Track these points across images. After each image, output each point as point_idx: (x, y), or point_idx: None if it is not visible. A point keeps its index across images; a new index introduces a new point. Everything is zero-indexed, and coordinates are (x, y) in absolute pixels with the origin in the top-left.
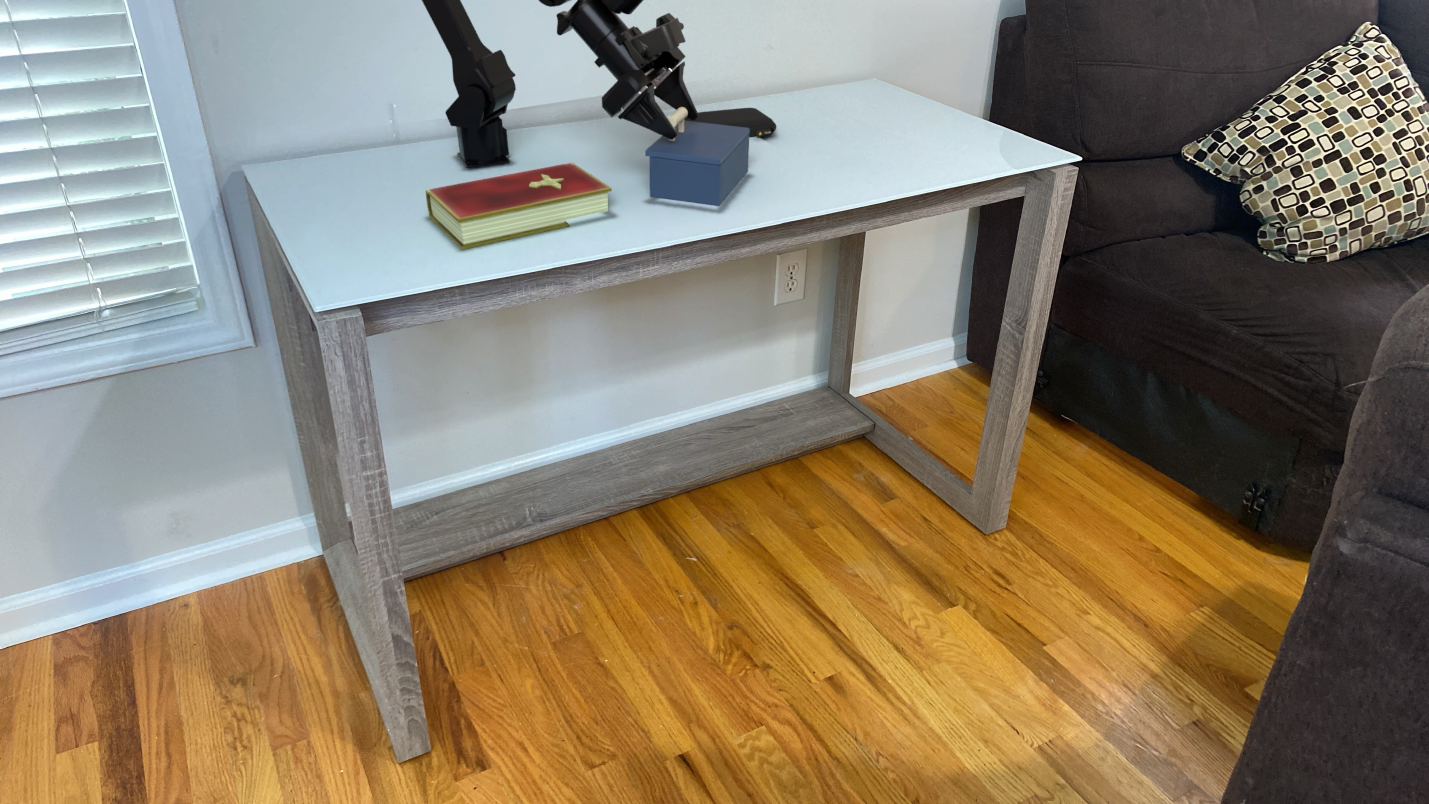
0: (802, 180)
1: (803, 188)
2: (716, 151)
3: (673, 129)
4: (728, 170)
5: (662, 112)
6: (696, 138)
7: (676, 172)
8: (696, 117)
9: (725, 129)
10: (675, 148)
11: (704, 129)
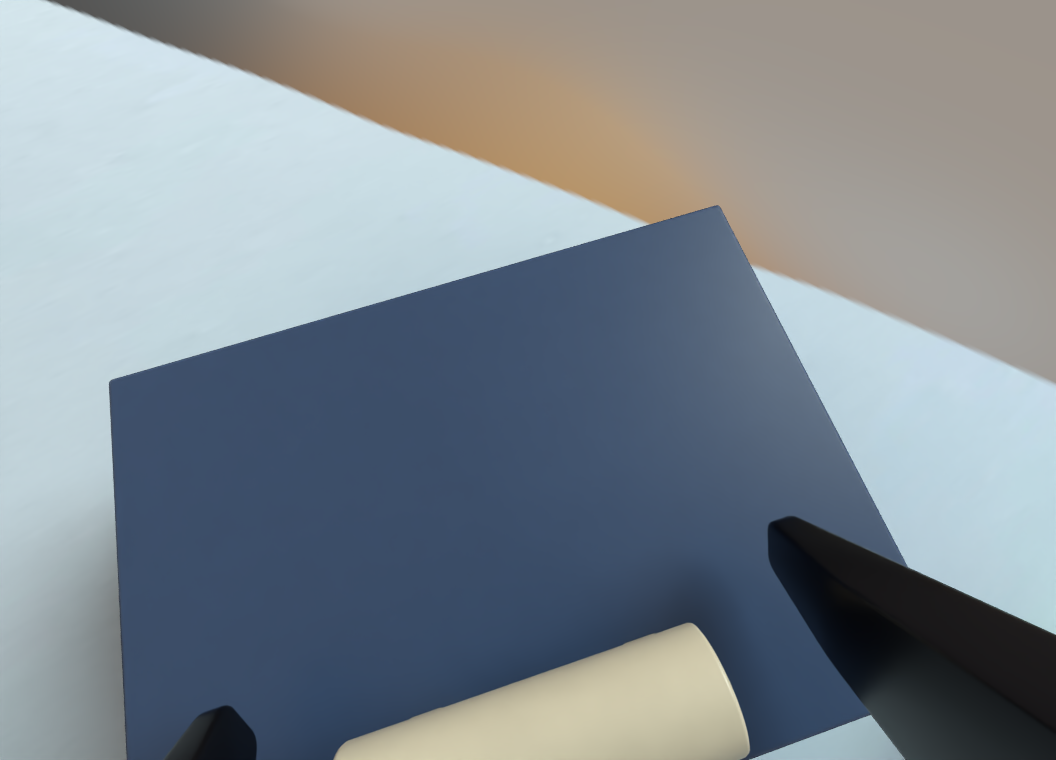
0: (212, 266)
1: (286, 228)
2: (624, 287)
3: (825, 541)
4: None
5: (1034, 683)
6: (498, 530)
7: None
8: (237, 713)
9: (211, 485)
10: (764, 518)
11: (283, 611)
